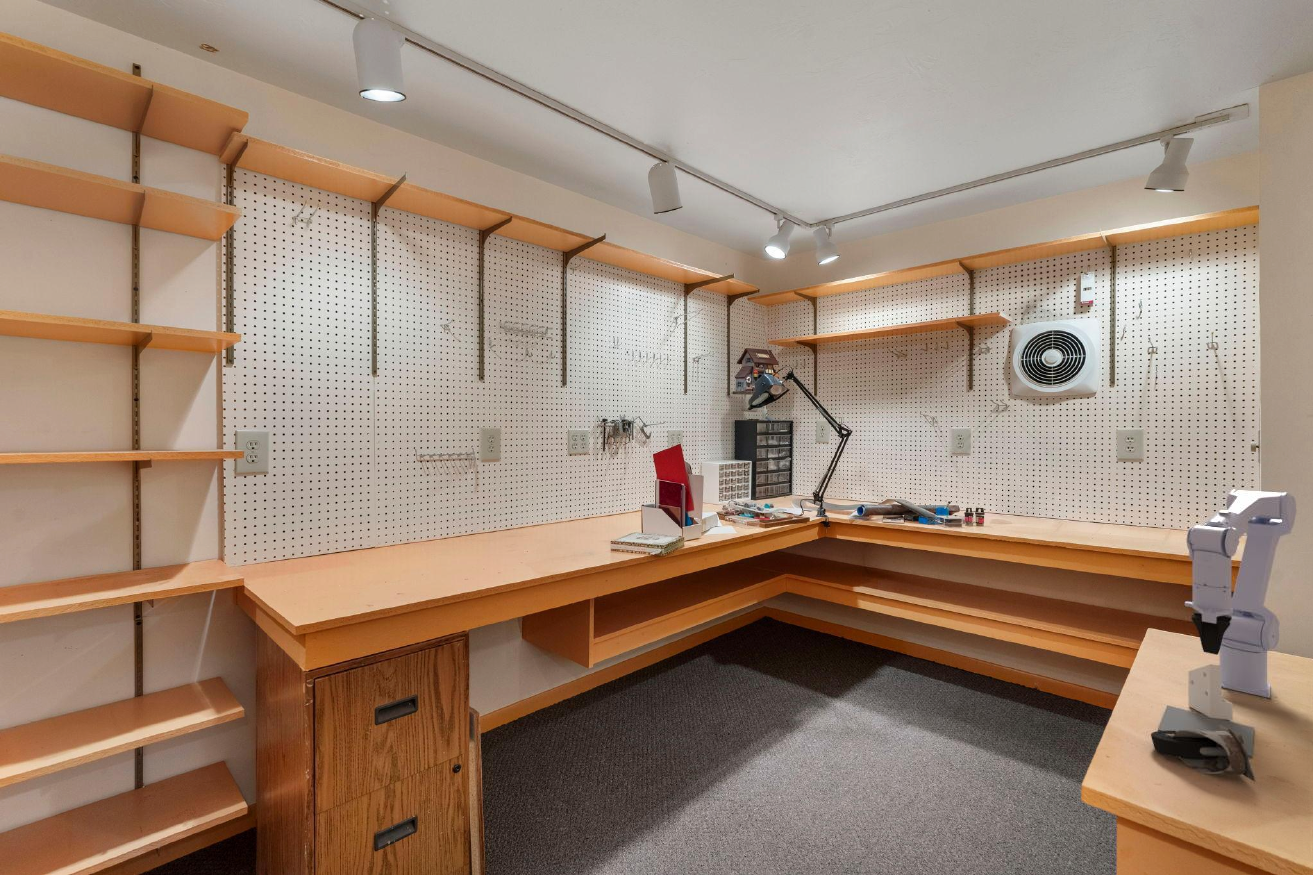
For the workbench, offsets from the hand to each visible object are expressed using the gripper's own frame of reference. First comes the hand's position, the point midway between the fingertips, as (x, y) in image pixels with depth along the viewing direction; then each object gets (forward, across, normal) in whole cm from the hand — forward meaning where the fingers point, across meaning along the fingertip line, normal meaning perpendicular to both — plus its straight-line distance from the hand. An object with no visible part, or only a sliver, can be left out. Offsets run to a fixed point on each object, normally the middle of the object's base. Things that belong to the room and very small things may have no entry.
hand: (1211, 650), depth 116 cm
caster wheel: (+11, +33, 0) cm, 35 cm away
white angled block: (+10, +8, 0) cm, 13 cm away
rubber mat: (+11, +17, 0) cm, 20 cm away
